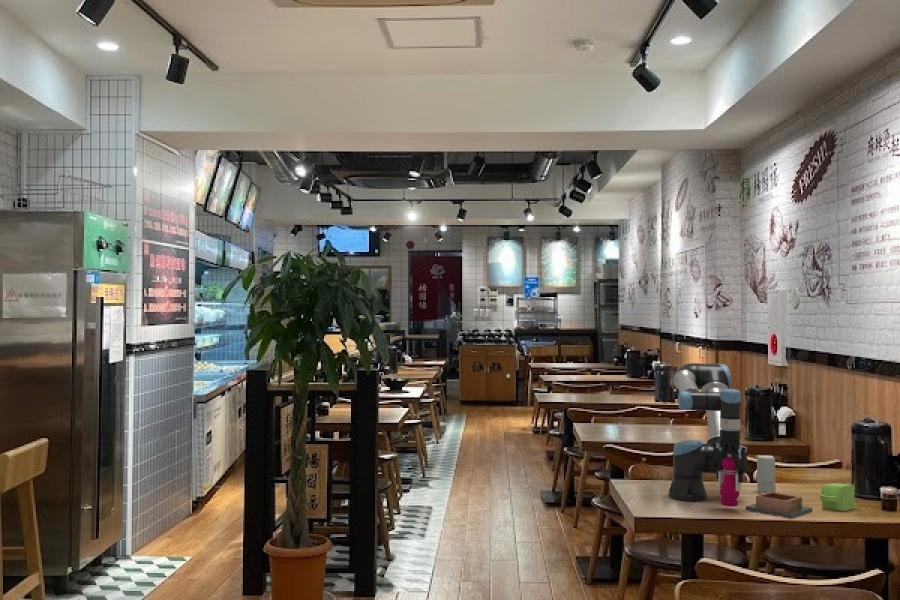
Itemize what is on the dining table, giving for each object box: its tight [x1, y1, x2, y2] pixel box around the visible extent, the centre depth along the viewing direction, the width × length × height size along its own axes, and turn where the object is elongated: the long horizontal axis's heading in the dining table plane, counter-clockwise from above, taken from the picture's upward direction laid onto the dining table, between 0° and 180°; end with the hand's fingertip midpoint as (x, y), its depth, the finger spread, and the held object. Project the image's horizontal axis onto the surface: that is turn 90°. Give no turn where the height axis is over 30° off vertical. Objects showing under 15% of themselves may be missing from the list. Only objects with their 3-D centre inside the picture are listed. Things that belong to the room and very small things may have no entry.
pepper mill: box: [719, 453, 740, 507], centre depth 326 cm, size 7×7×20 cm
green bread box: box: [819, 482, 856, 512], centre depth 333 cm, size 18×10×10 cm, turn 132°
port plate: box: [745, 492, 813, 519], centre depth 325 cm, size 18×18×6 cm
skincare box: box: [756, 454, 777, 494], centre depth 360 cm, size 8×7×16 cm
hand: (729, 489), depth 326 cm, fingers closed on pepper mill, 6 cm apart
